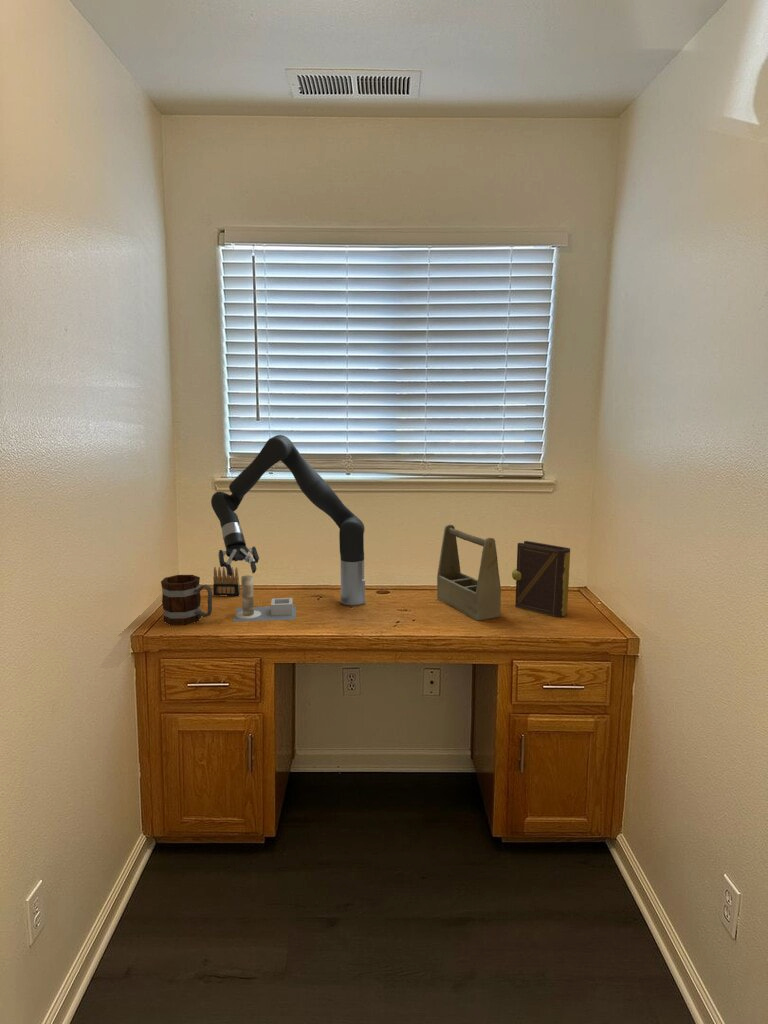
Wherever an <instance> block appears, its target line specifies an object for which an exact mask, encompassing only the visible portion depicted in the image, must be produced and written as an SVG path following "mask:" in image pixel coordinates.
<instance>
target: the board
mask: <svg viewBox="0 0 768 1024" xmlns="http://www.w3.org/2000/svg"><path fill="white" fill-rule="evenodd" d="M296 612H297V605H293V597H281V598H280V597H279V598H271V602H270V606H269V605H268V606H266V605H265V606H254V615H252V616H244V615H243V609H242V607H241V606H240V607H236V610H235V613H234V616H233V618H232V619H233V620H232V623H240V622H241V623H242V622H243V623H244V622H265V621H267V622H268V621H289V620H290V621H291V620H292V621H294V620H297V618H296V617H297V616H296V615H297V613H296Z"/></svg>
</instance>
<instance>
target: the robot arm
mask: <svg viewBox="0 0 768 1024" xmlns="http://www.w3.org/2000/svg"><path fill="white" fill-rule="evenodd" d="M279 462H282V463H283V465H284V466H285V467H287V468H288V470H289V471H290V473H292V476H293V478H294V480H295V481H296V483H297V486H298V488H299V490H300V491H301V492H302V494H303V495H304V496H305V497H306V498H307V499H308V500H309V501H310V502H311V503H312V504H313V505H314V506H315V507H316V508H318V509H320V511H322V512H324V513H325V514H326V515H327V516H329V518H330V519H332V521H334V523H335V525H336V526H337V527H338V528H339V533H338V539H339V554H340V555H339V557H340V602H341V604H342V605H346V606H360V605H363V604H366V579H365V549H364V548H365V547H364V545H365V544H364V541H365V538H364V534H365V525H364V522H363V521H362V520H361V519H360V518H359V517H358V516H357V515H356V514H355V513H353V512H352V511H351V510H350V509H349V508H348V507H347V506H346V505H345V504H344V503H343V501H341V499H340V498H339V496H338V495H337V494H336V492H335V491H334V490H333V489H332V488H331V486H330V485H329V484H328V483H327V481H325V479H323V477H322V476H321V475H320V473H318V472H317V471H316V470H315V469H314V468H313V466H311V464H310V463H309V462H308V461H306V459H305V458H304V457H303V455H302V454H301V453H300V452H299V450H298V448H296V446H295V445H294V443H293V442H292V440H291V439H290V438H289V437H287V436H286V435H284V434H277V435H274V436H272V437H270V438H268V439H267V440H266V442H265V444H264V446H263V447H262V448H261V450H260V451H259V453H258V455H257V456H255V458H254V459H253V460H252V462H251V463H249V465H247V467H246V468H244V469H243V470H241V472H240V473H239V474H238V475H237V476H236V477H235V478H234V479H233V480H232V481H231V483H230V484H229V486H228V487H229V492H231V494H228V493H226V492H224V491H216V492H214V493H213V495H212V496H211V500H210V503H211V508H212V510H213V511H214V513H215V516H216V517H217V519H218V520H219V524H220V527H221V534H222V539H223V542H224V543H223V544H224V546H225V547H224V548H225V550H222V549H220V550H218V553H217V554H218V560H219V567H220V568H223V567H224V568H225V571H226V575H227V574H228V575H230V577H231V576H232V569H231V568H232V565H231V564H232V562H238V561H240V562H241V561H242V562H243V561H244V562H246V563H248V564H250V569H251V572H252V574H255V573H256V571H257V565H256V564H258V563H259V560H260V556H259V553H258V551H257V548H256V546H252V547H250V548H248V547H247V543H246V540H245V536H244V532H243V529H242V527H241V524H240V519H239V517H238V514H237V513H236V512H235V511H236V510H237V509H238V508H239V506H240V504H241V502H242V501H243V499H244V497H245V496H246V494H248V492H249V491H250V490H251V489H252V488H253V487H254V486H255V485H256V484H257V483H258V482H259V480H260V479H261V478H262V476H263V475H264V474H265V473H266V472H267V471H268V470H270V468H272V467H273V466H275V465H276V464H277V463H279ZM249 553H250V554H249ZM251 555H252V556H251ZM225 556H227V557H228V559H227V561H225Z"/></svg>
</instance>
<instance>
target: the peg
mask: <svg viewBox="0 0 768 1024" xmlns="http://www.w3.org/2000/svg"><path fill="white" fill-rule="evenodd" d="M253 577H254V576H252V575H249V574H248V575H247V574H246V575H243V576H241V577H240V579H241V606H242V609H243V615H244V616H252V615H254V607H255V605H254V601H255V600H254V579H253Z"/></svg>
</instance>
